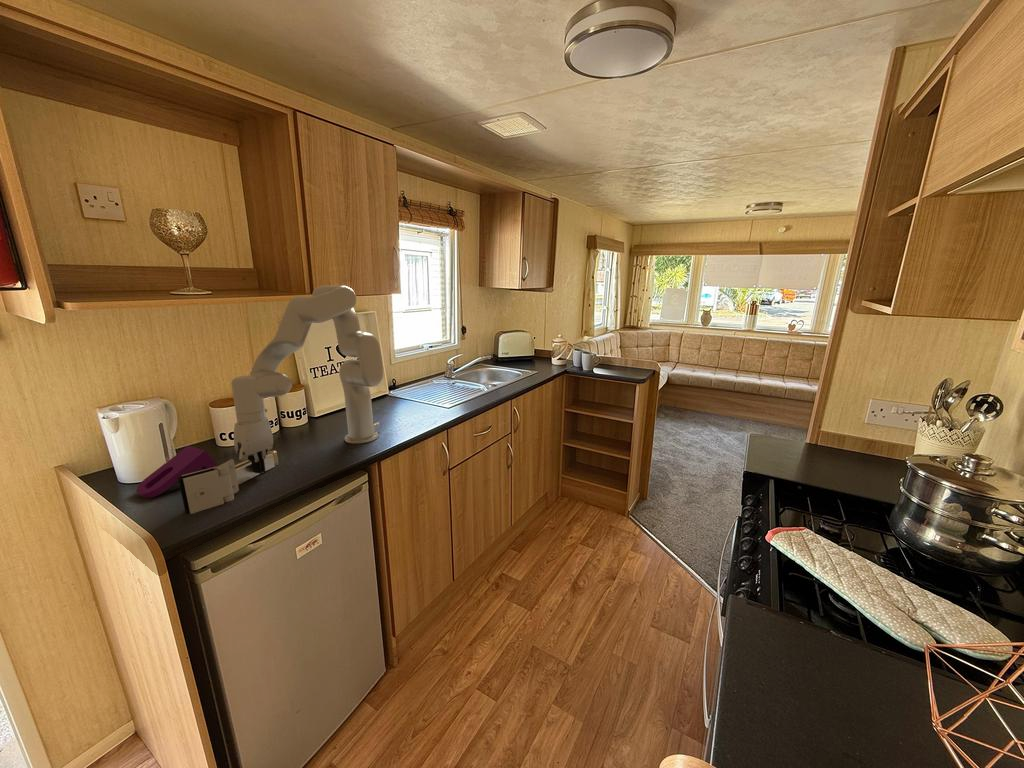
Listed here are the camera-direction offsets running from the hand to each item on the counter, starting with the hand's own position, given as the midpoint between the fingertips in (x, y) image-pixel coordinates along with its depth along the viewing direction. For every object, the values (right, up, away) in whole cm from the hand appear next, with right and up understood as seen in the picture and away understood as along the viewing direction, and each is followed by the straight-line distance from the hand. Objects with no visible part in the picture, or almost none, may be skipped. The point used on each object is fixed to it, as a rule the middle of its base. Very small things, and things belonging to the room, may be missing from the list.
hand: (259, 471), depth 129 cm
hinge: (-3, -6, -14) cm, 16 cm away
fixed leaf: (-3, -1, +2) cm, 4 cm away
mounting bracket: (-22, -4, -4) cm, 23 cm away
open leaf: (-2, -1, +1) cm, 3 cm away
